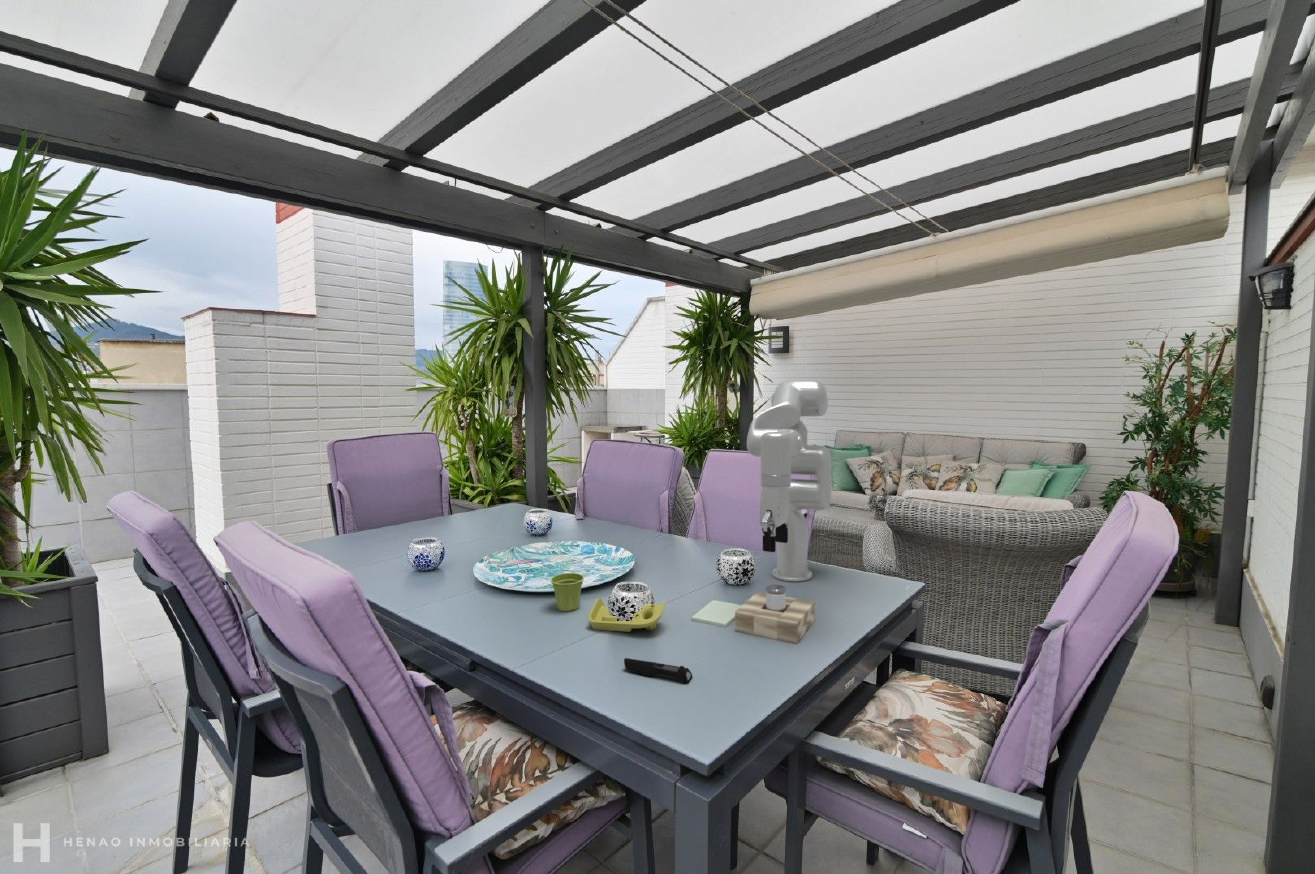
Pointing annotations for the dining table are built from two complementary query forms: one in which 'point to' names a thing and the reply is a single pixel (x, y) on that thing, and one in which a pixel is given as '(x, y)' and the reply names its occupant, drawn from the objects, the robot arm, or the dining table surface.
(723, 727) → the dining table surface
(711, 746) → the dining table surface
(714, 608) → the mat
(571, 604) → the plant pot
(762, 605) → the bore block
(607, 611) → the plastic component
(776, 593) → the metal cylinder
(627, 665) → the electric trimmer
